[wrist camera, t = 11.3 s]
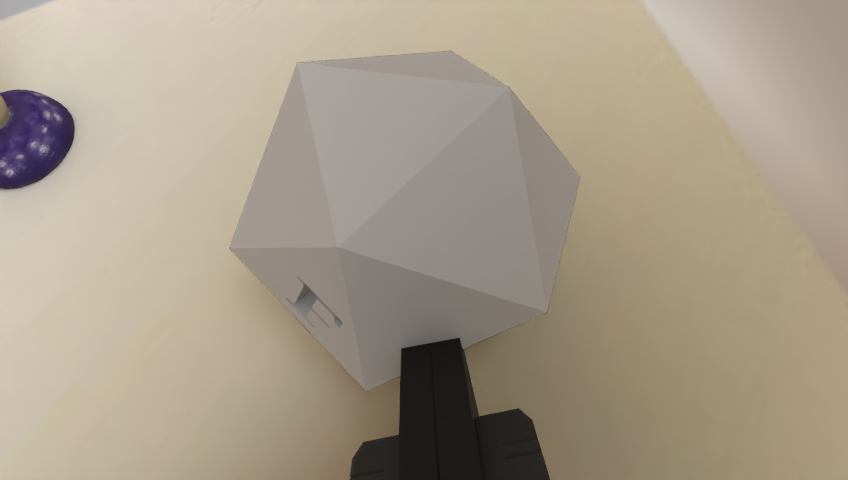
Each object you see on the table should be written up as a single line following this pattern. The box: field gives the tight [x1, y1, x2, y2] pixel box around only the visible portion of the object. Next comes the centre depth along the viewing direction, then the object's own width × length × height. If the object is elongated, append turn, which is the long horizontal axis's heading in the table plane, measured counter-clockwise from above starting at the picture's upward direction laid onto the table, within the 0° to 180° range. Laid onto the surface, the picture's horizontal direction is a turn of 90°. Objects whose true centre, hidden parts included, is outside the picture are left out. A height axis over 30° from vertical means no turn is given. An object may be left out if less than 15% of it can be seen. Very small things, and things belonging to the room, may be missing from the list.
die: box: [229, 51, 580, 391], centre depth 19 cm, size 8×9×10 cm
